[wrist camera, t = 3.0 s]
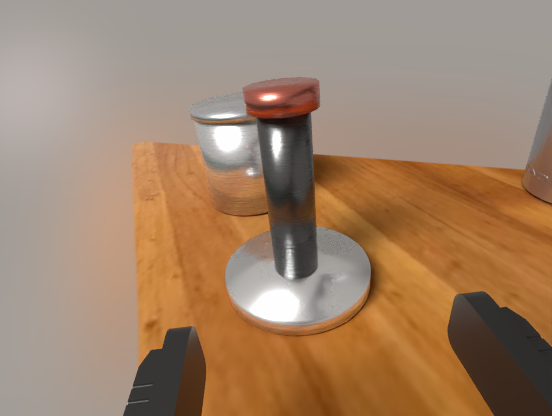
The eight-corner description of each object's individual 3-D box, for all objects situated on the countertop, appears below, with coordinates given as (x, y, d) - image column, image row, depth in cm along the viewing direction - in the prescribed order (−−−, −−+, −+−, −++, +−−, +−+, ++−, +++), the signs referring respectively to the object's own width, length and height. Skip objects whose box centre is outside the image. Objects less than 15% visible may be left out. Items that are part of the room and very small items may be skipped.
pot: (291, 171, 40) (285, 87, 35) (302, 209, 32) (295, 107, 27) (213, 180, 40) (196, 97, 35) (205, 221, 32) (180, 120, 27)
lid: (348, 231, 28) (350, 62, 22) (392, 324, 20) (417, 91, 13) (231, 245, 28) (197, 80, 22) (223, 345, 20) (163, 120, 13)
